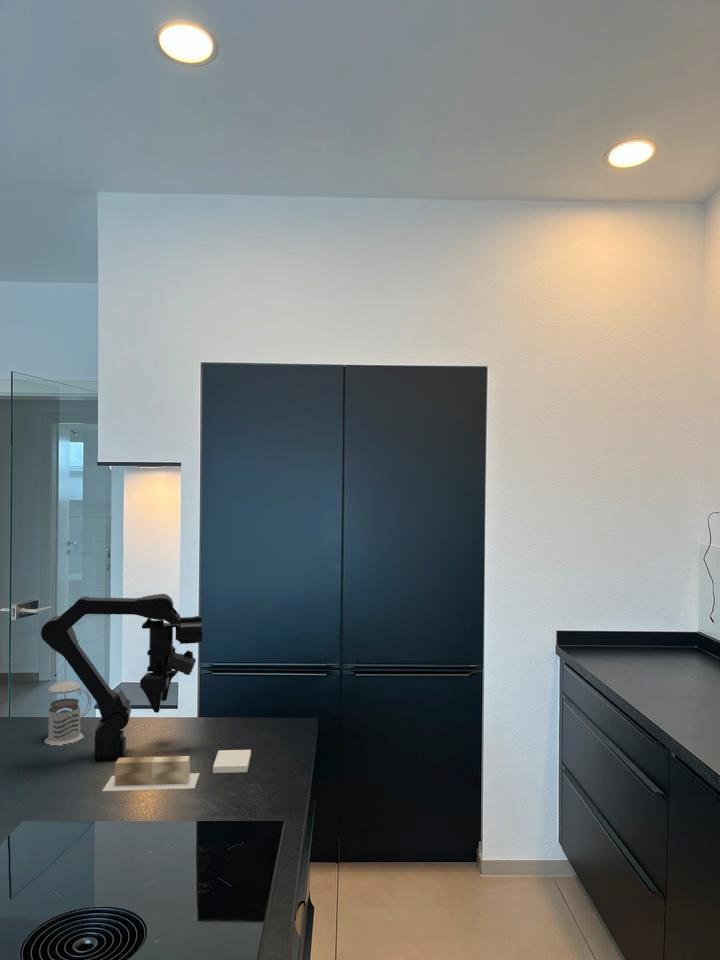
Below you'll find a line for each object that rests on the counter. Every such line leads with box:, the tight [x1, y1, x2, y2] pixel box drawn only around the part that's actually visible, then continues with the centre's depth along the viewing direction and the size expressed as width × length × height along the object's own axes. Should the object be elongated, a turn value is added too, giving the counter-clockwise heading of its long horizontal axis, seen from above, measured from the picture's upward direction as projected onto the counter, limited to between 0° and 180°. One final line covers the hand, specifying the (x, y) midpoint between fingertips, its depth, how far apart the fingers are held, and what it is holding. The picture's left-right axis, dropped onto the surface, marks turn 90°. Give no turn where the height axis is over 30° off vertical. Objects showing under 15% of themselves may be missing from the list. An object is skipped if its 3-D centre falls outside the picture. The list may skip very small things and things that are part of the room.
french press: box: [43, 658, 92, 746], centre depth 183 cm, size 10×12×25 cm
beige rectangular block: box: [114, 755, 191, 785], centre depth 155 cm, size 16×3×5 cm, turn 95°
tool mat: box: [101, 772, 200, 792], centre depth 154 cm, size 20×8×1 cm, turn 95°
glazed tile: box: [212, 749, 252, 774], centre depth 165 cm, size 2×10×8 cm
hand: (160, 706), depth 172 cm, fingers open, 9 cm apart
